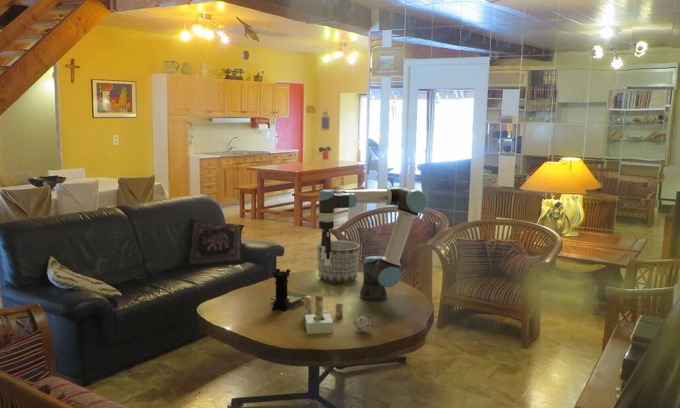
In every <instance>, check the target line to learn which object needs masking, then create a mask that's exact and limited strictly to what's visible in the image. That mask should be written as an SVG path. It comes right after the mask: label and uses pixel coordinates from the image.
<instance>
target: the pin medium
mask: <svg viewBox="0 0 680 408" xmlns="http://www.w3.org/2000/svg"><path fill="white" fill-rule="evenodd" d="M311 314H312V296H311V295H304V297H303V319H304V320H305V315H311Z"/></svg>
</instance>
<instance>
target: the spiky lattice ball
mask: <svg viewBox="0 0 680 408" xmlns="http://www.w3.org/2000/svg"><path fill="white" fill-rule="evenodd" d="M358 316H359V317H357V319H356V320H355V321H353V322H352V324H354V325H355V327H356V328H355V329H356V333H358V332H360V333H365V334H366V335H367V334H368V333H367V332H368V331H369V330H370V328H371V327H373V326H374V325H373V324H372V323H371V320H370V316H369V315H368V317H367V316H363V315H361V314H360V313H359V315H358Z"/></svg>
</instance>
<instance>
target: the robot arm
mask: <svg viewBox="0 0 680 408" xmlns="http://www.w3.org/2000/svg"><path fill="white" fill-rule="evenodd" d="M318 197H319V198H318V208H319V209H318V214H317V217H318V228H319V229H320V230H321V241H320V243H321V244H322V259H323V258H325V265H330V259H331V241H332V239H331V235H332V234H331V231H330V230H332V229H333V230H334V228H335V227H334V226H335V224H334V223H335V222H334V221H335V209H350V208H351V209H352V208H355V207H356V206H357V205H361V204H362V205H363V204H364V205H365V204H370V205H371V204H384V205H385V206H393V207H394V206H395V207H397V208H396V211H397V213H398V215H397V217H396V220H395V223H394V226H393V228H392V232H391V235H390V237H389V239H388V243H387V246H386V250H385V252H384V255H383V256H382V255H371V256H370V255H369V256H366V257H364V259H363V284H362V286H361V289H360V291H359V292H360V293H359V298H361V299H362V300H365V301H371V302H372V301H373V302H378V301H384V300H386V299H387V298H388V292H387V288H393V287H395V286H397V285H398V283H400V281H401V278H402V273H401V271H400V269H401V266H402V265H401V262H400V260H401V256H402V254H403V251H404V248H405V247H406V246H405V245H406V243H407V239H408V237H409V234H410V231H411V228H412V226H413V222H414V219H416V218H417V217H419V213H421V212H422V211H424V209H426V205H427V198H426V194H424V192H422V191H421V190H418V189H416V188H412V187H407V186H397V187H396V186H395V187H394V186H393V187H386V188H384V189H335V188H333V189H332V188H331V189H322V190H320V191H319V195H318Z"/></svg>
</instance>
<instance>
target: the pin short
mask: <svg viewBox="0 0 680 408" xmlns="http://www.w3.org/2000/svg"><path fill="white" fill-rule="evenodd" d="M343 309H344V304H343V302H340V301H339V302H335V318H337V319H342V318H343Z"/></svg>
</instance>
